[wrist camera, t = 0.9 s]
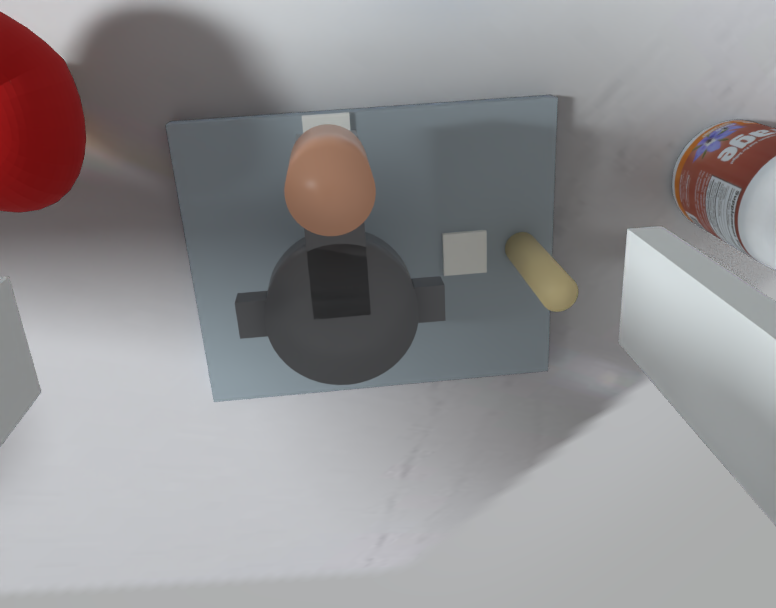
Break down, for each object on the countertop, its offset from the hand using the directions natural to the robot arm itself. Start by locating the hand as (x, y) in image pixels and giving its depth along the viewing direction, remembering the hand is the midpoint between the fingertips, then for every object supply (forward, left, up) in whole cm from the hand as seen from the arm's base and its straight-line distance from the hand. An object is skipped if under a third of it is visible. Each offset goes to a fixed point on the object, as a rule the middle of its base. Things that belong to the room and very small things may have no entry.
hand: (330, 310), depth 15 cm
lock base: (+2, -7, -24) cm, 25 cm away
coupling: (0, -4, -18) cm, 18 cm away
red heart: (-14, +3, -24) cm, 28 cm away
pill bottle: (+22, -4, -24) cm, 33 cm away
